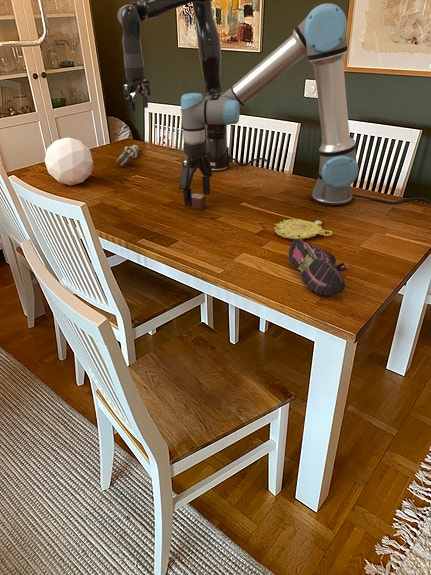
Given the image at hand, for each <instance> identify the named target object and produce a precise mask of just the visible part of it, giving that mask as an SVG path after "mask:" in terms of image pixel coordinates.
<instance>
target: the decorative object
mask: <svg viewBox="0 0 431 575" xmlns="http://www.w3.org/2000/svg"><path fill="white" fill-rule="evenodd" d="M322 225H323V221H321V220H314V222H313V221H310V220H304V219H303V218H292V219H283V221H279V223H274V227H273V229H274V233H276V234H277V236H279V237H282V238H284V239H285V238H286V239H290V240H295V239H300V240H302V241H303V240H305V239H310V238H313V237H315V236H317V235H319V236H320V235H321V236H325V237H329V236H331V235H333V231H332V230H325V229H323V227H322ZM326 233H327V234H326Z"/></svg>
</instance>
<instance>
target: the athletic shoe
mask: <svg viewBox="0 0 431 575" xmlns="http://www.w3.org/2000/svg"><path fill="white" fill-rule="evenodd" d="M288 260H289V261H290V264H291V265H292V266H293V267H294V268H295V269H297V270H299V271H300V272H301V279H302V283H304V284H305V285H306V288H307V289H309V291H310V292H314V294H318V295H321V296H323V295H324V296H333V295H337V294H342V292H343V291H344V290H345V289H346V283H345V280H344V278H343V276H342V274H341V273H340V272H345V271H349V269H347V266H346V265H345V263H344V262H341V263H339V264H338V265H337V259H336V257H335V255H334V254H332V253H331V252H329V251H328V250H325V249H323V248H321V247H317V246H316V245H315V246H314V245H312V244H310V243H307V242H305V241H304V240H303V239H302V240H301V239H293V241H291V244H290V247H289V249H288Z"/></svg>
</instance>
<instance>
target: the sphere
mask: <svg viewBox="0 0 431 575" xmlns="http://www.w3.org/2000/svg"><path fill="white" fill-rule="evenodd" d="M44 163H45V166H46V169H47V172H48V174H49V175H50V176H51V177H53V178H54V179H55V180H56V181H57V182H58V183H60V184H64V185H66V186H70V187H71V186H74V185H77V184H81V183H83V182H84V181H85V180H86V179H88V178H89V177H90V176H91V175H92V171H93V166H94V159H93V155H92V153H91V149H89V148H88V147H87V146H86V144H84V142H82V141H81V140H79V139H75V138H72V137H64V138H60V139H55V141H54V142H52V144H50V145H49V146H48V147H47V149H46V153H45V157H44Z"/></svg>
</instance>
